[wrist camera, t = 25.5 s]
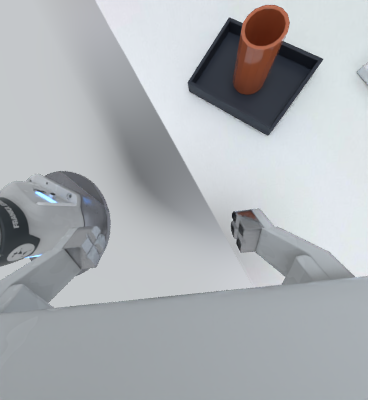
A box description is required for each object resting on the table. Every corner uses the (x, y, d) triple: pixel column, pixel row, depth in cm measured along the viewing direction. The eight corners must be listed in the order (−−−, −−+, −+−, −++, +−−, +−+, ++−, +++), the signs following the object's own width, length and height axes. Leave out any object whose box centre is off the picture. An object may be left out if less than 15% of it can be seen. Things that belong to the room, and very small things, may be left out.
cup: (226, 86, 30) (232, 38, 22) (244, 58, 30) (258, -2, 21) (253, 100, 29) (271, 56, 21) (272, 71, 29) (299, 14, 20)
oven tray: (189, 91, 33) (187, 82, 30) (227, 31, 31) (229, 17, 29) (267, 135, 29) (272, 129, 27) (314, 70, 28) (323, 58, 26)
